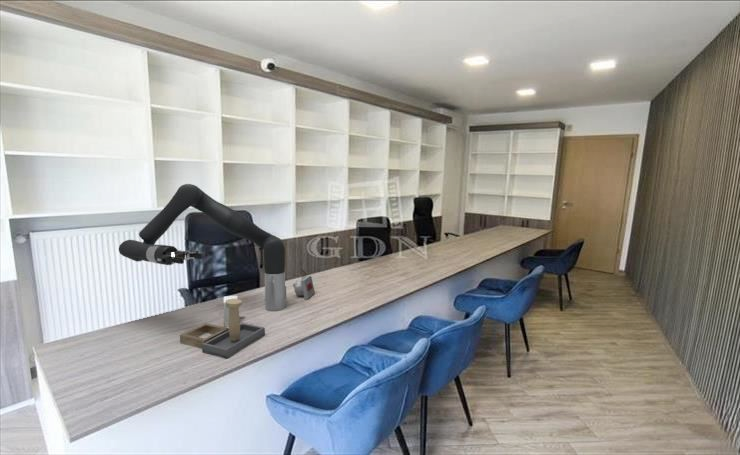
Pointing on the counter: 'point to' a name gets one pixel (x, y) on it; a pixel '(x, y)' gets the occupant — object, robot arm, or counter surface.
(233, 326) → the handle
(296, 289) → the voltmeter
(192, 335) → the socket collar
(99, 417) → the counter surface
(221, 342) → the tray
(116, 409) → the counter surface
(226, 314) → the small box
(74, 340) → the counter surface
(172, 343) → the counter surface
